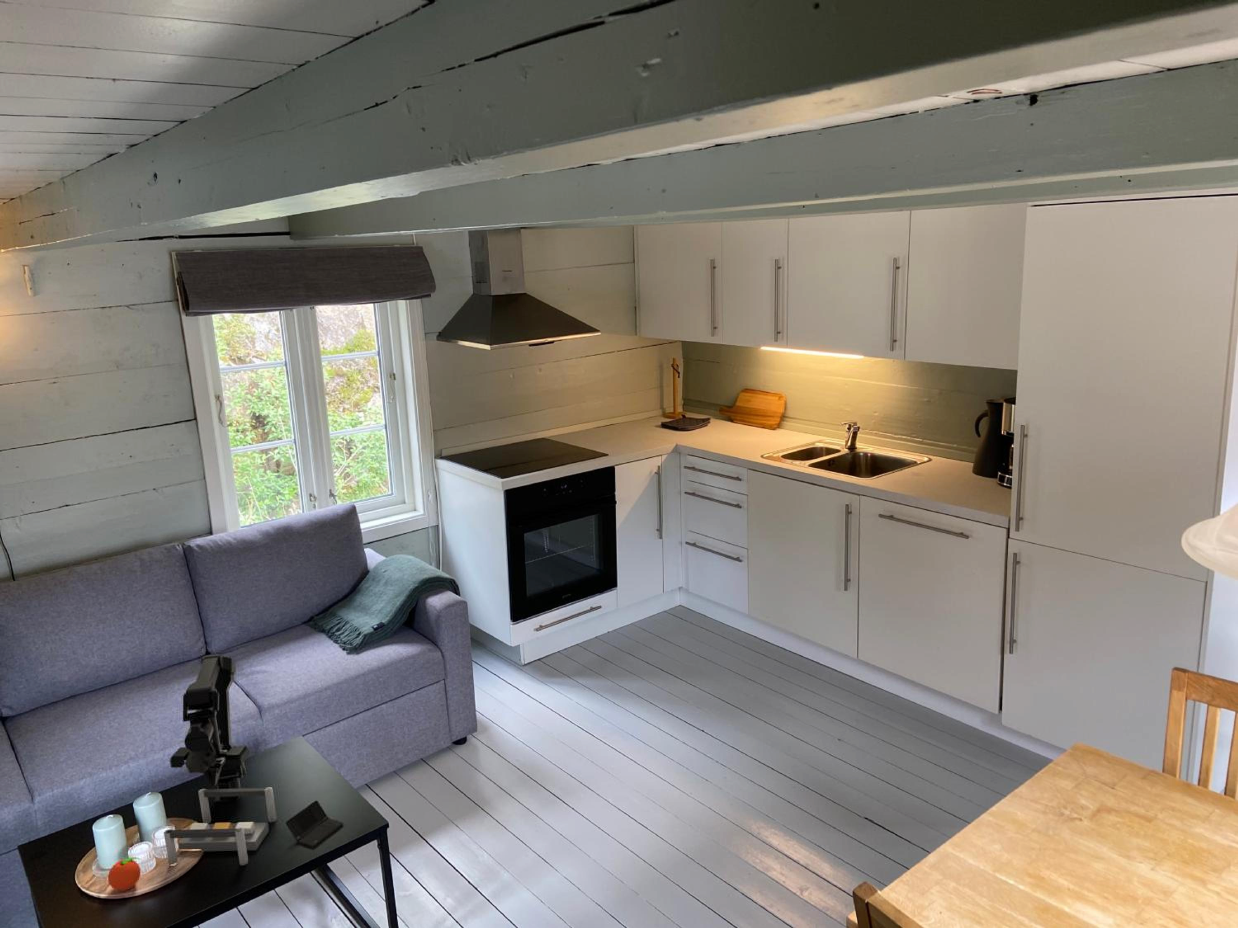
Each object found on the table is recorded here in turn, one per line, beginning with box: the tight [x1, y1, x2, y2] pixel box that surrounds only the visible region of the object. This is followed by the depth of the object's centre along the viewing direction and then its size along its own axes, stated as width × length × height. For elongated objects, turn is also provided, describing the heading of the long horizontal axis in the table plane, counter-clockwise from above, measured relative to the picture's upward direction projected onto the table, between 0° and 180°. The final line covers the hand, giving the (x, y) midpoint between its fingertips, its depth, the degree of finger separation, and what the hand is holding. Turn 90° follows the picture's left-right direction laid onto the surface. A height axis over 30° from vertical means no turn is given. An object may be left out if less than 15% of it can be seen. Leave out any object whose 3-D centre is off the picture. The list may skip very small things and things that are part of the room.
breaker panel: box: [177, 822, 270, 852], centre depth 237 cm, size 8×20×2 cm, turn 88°
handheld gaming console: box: [285, 800, 344, 849], centre depth 239 cm, size 12×7×10 cm
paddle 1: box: [189, 822, 210, 830], centre depth 236 cm, size 2×4×2 cm, turn 88°
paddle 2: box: [235, 821, 255, 834], centre depth 236 cm, size 2×4×2 cm, turn 89°
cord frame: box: [163, 787, 277, 866], centre depth 236 cm, size 20×20×9 cm
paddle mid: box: [213, 822, 232, 829], centre depth 236 cm, size 2×4×2 cm, turn 89°
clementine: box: [107, 856, 143, 891], centre depth 220 cm, size 8×7×7 cm
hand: (214, 785), depth 240 cm, fingers closed
